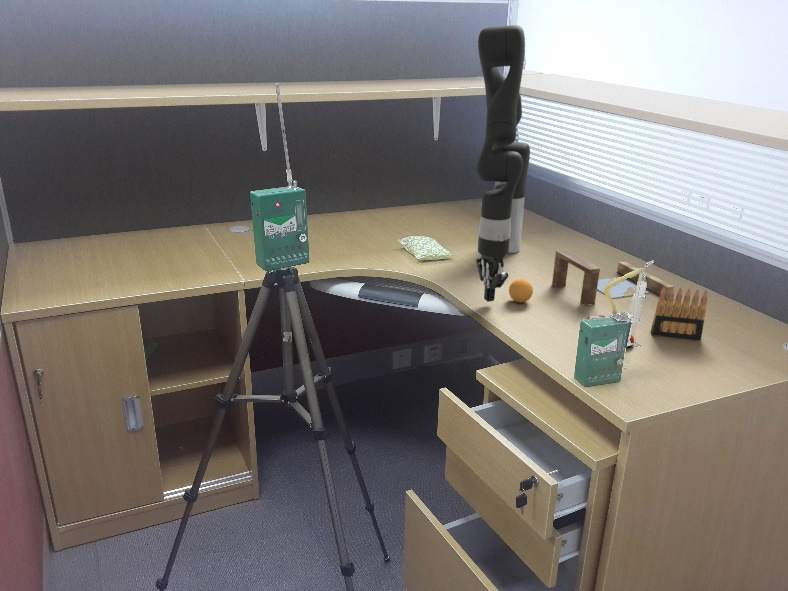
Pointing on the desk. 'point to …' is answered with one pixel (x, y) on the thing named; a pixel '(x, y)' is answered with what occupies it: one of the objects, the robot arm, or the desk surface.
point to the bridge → (589, 269)
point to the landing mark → (616, 287)
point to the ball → (520, 290)
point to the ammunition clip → (679, 316)
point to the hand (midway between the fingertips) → (489, 300)
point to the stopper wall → (652, 281)
